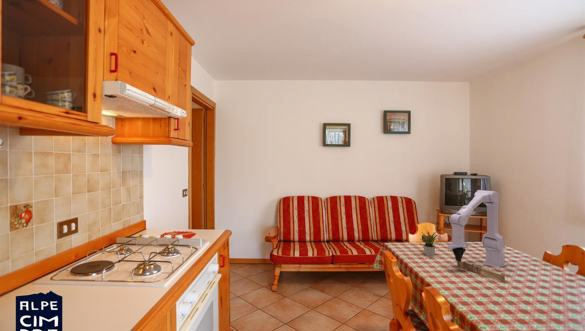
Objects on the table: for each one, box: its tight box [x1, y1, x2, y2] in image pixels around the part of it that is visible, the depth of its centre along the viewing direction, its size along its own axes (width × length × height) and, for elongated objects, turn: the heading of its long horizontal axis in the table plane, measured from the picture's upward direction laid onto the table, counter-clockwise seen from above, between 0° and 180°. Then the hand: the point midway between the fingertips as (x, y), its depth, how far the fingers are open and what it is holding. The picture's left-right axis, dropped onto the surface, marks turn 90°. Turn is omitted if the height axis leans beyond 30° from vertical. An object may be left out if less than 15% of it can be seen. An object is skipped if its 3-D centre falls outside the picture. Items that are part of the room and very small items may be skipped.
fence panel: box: [456, 260, 479, 274], centre depth 151 cm, size 11×2×4 cm, turn 23°
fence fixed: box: [477, 265, 506, 284], centre depth 140 cm, size 2×13×4 cm, turn 23°
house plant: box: [420, 230, 443, 258], centre depth 177 cm, size 14×14×16 cm
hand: (458, 260), depth 151 cm, fingers closed
